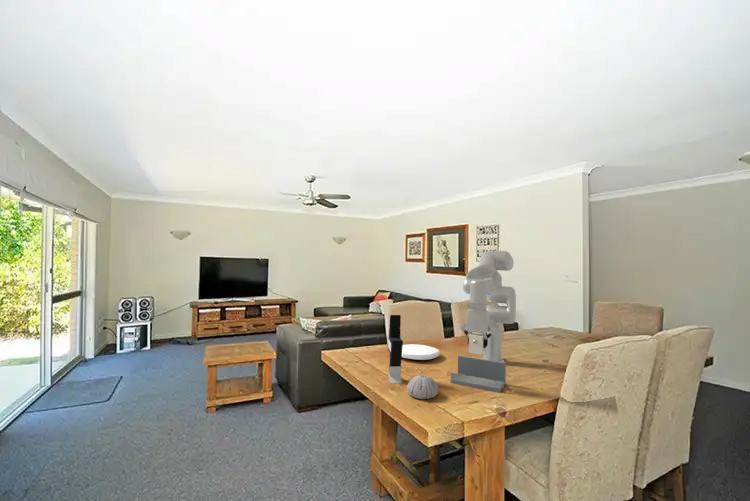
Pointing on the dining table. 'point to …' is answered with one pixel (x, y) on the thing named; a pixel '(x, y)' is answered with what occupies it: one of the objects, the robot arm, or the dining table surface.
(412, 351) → the plate
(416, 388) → the sea urchin shell
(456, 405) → the dining table surface
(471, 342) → the cabinet block
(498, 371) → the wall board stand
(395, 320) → the award
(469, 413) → the dining table surface
